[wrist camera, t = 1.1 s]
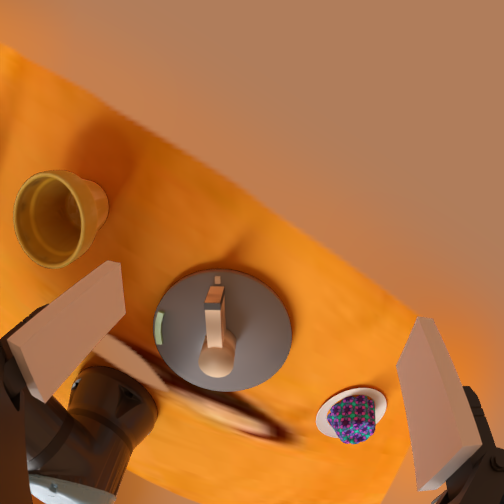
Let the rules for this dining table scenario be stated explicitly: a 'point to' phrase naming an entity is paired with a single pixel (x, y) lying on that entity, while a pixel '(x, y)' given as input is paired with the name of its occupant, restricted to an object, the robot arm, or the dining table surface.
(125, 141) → the dining table surface
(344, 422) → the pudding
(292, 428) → the dining table surface
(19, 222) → the plant pot
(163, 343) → the flat grey disc
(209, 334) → the tuning peg
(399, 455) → the dining table surface
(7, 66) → the dining table surface
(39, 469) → the robot arm
